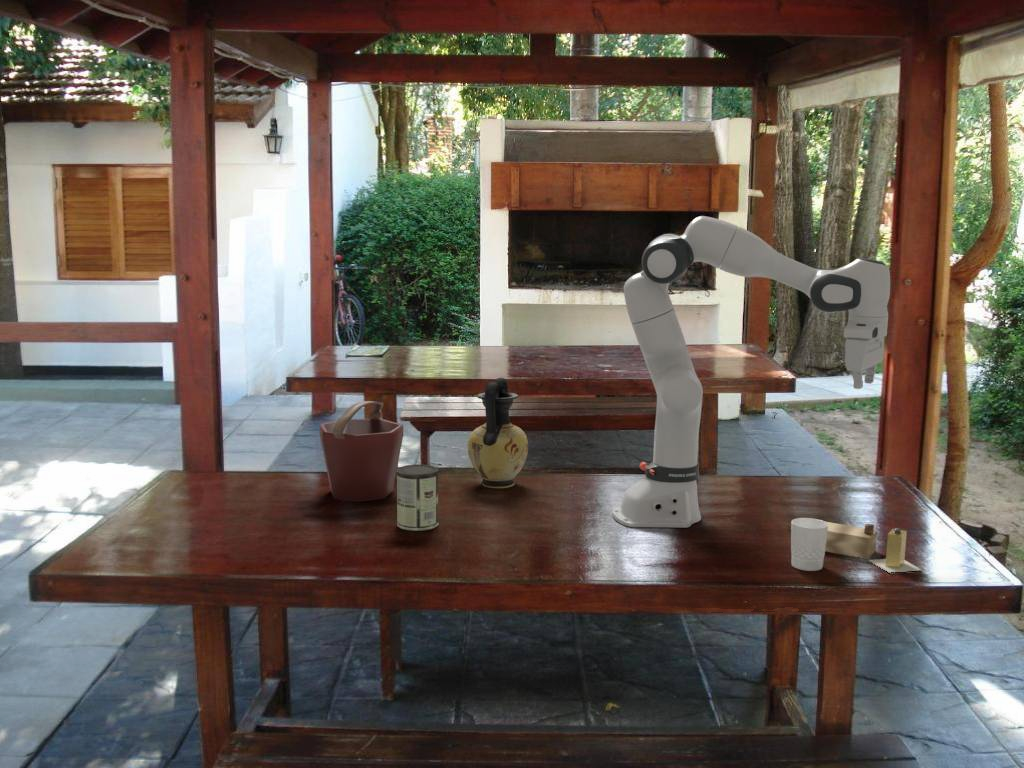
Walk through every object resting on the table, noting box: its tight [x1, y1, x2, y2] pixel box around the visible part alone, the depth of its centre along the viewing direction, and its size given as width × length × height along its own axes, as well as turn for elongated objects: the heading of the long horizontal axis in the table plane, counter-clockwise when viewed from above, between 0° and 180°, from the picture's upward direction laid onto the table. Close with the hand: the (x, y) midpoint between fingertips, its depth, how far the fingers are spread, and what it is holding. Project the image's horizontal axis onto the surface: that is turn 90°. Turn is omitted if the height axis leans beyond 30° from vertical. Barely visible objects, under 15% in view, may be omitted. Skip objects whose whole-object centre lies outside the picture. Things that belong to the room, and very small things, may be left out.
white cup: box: [790, 517, 828, 572], centre depth 238 cm, size 8×8×10 cm
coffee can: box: [396, 464, 439, 532], centre depth 264 cm, size 10×10×14 cm
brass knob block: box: [885, 527, 908, 569], centre depth 239 cm, size 3×4×8 cm, turn 147°
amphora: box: [467, 377, 529, 489], centre depth 301 cm, size 18×17×30 cm
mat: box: [868, 558, 922, 574], centre depth 239 cm, size 8×8×1 cm
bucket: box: [319, 400, 404, 503], centre depth 290 cm, size 24×22×25 cm
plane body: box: [825, 521, 878, 560], centre depth 250 cm, size 14×7×7 cm, turn 57°
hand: (863, 385), depth 255 cm, fingers open, 8 cm apart
